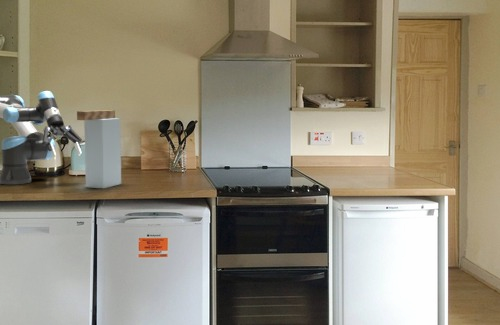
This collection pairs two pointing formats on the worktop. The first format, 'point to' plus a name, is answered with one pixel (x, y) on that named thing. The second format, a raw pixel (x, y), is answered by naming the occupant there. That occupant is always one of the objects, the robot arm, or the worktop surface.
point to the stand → (102, 153)
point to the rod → (95, 115)
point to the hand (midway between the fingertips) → (67, 155)
